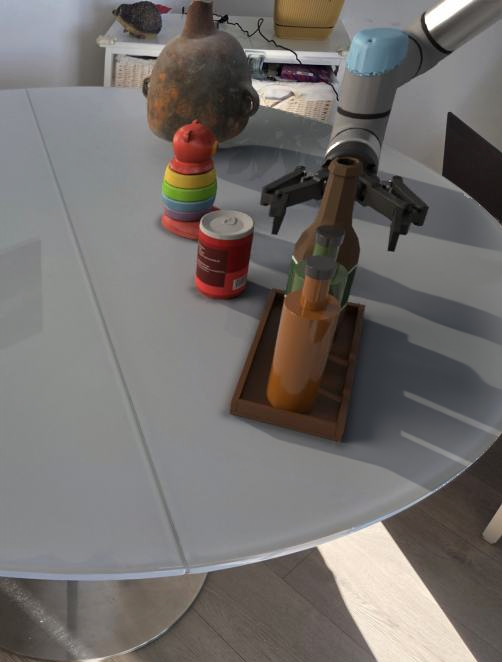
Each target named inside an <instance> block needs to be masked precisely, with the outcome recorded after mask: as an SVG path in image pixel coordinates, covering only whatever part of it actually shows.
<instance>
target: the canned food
mask: <svg viewBox="0 0 502 662" xmlns="http://www.w3.org/2000/svg"><path fill="white" fill-rule="evenodd" d="M254 233H255V221H254V219H253V217H251V216H250V215H248V214H247V213H245V212H242V211H239V210H233V209H221V210H219V211H214V212H210V213H208V214H206V215H205V216H203V217H202V219H201V221H200V228H199V238H198V240H197V253H196V265H195V266H196V267H195V277H194V283H195V286H196V289H197V290H198V292H199V293H201V294H202V295H204V296H206V297H207V298H211V299H215V300H228V299H232V298H235V297H237V296H239V295H240V294H241V293H242V292H243V291H244V290H245V288H246V285H247V280H248V274H249V267H250V262H251V261H250V260H251V254H252V248H253V240H254V235H255V234H254Z"/></svg>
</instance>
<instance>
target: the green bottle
mask: <svg viewBox="0 0 502 662" xmlns="http://www.w3.org/2000/svg"><path fill="white" fill-rule="evenodd" d="M344 235H345V231H344V230H343V229H342V228H340V227H338V226H334V225H321V226H319V227H317V228H316V231H315V236H314V241H315V245H314V250H313V254H312V256H317V255H321V256H327V257H330V258H332V259H334V260H335V261H336V259H337V255H338V251H339V247H340V245H341V244H342V243H343V239H344ZM306 260H307V259H305V260H302V261H300V262H298V263H297V264H296V266H295V269H294V274H293V279H292V284H291V289H290V293H291V292H293V291H296V290H301V289H302V288H303V283H304V279H305V272H304V269H305V264H306ZM347 278H348V271H347V270H346V268H345V267H344V266H342V265H341V264H339V263H337V268H336V272H335V276H334V277H333V278H332V280H331V284H330V288H329V292H328V294H330V295H332V296H333V297H335V298H336V299H337V300H338V301H339V303H340V305H341V301H342V297H343V293H344V289H345V286H346V282H347Z"/></svg>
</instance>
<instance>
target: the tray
mask: <svg viewBox="0 0 502 662" xmlns="http://www.w3.org/2000/svg"><path fill="white" fill-rule="evenodd" d="M285 291H286V289H285V290H284V289H279V288H278V289H277V288H273V287H272V288H271V289H270V291H269V295H268V298H267V300H266V303H265V306H264V308H263V311H262V314H261V318H260V320H259V322H258V325H257V328H256V331H255V334H254V336H253V339H252V341H251V342H252V343H251V344H250V348H249V349H248V353H247V356H246V359H245V361H244V363H243V367H242V370H241V372H240V375H239V377H238V381H237V383H236V386H235V388H234V391H233V394H232V398H231V400H230V405H229V411H228V412H229V414H230V415H234V416H238V417H241V418H245V419H249V420H254V421H258V422H260V423H264V424H268V425H273V426H277V427H280V428H285V429H288V430H292V431H296V432H300V433H302V434H303V433H304V434H308V435H312V436H316V437H318V438H323V439H326V440H329V441H334V442H338V443H341V442H342V439H343V436H344V433H345V429H346V425H347V424H346V423H347V418H348V411H349V406H350V400H351V393H352V388H353V381H354V375H355V369H356V364H357V357H358V352H359V351H358V350H359V345H360V339H361V334H362V328H363V320H364V316H365V309H366V304H363V303H358V302H352V301H348V302H347V305H346V309H345V313H344V317H343V320H342V323H341V326H340V328H339V330H338V331H337V332H336V333H335V334H334V338H333V341H332V345H331V349H330V353H329V356H328V360H327V364H326V368H325V372H324V375H323V379H322V383H321V387H320V390H319V394H318V398H317V402H316V405H315V407H314V408H313V409H312V410H311V411H309V412H307V413H303V414H298V413H294V412H290V411H286V410H282V409H278V408H274V407H273V406H272V405H271V404H270V403H269V402H268V400H267V397H266V391H267V386H268V381H269V376H270V370H271V365H272V360H273V355H274V350H275V345H276V339H277V334H278V329H279V324H280V319H281V313H282V307H283V302H284V297H285Z"/></svg>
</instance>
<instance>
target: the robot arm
mask: <svg viewBox="0 0 502 662" xmlns="http://www.w3.org/2000/svg"><path fill="white" fill-rule="evenodd" d="M501 20H502V0H438V1H437V2H435V3H434V4H432V5H431V6H430V7H428V8H427V9H426V10H425V11H424V12H422V13H421V14H419V15H418V16H417V17H415V18H414V19H413V20H412V21H410V22H409V23H408V24H406V25H405V26H404V27H402V28H400V29H399V28H395V27H394V28H393V27H371V28H366V29H361V30H359V31H358V32H357V33H356V34H355V35H354V36H353V38H352V40H351V43H350V47H349V50H348V54H347V55H346V57H345V67H344V73H343V78H342V82H341V83H342V84H341V87H340V93H339V99H338V103H337V108H336V111H335V116H334V121H333V125H332V130H331V134H330V139H329V142H328V146H327V148H326V151H325V154H324V157H323V160H322V163H321V166H320V169H318V170H316V172H310V171H308V170H306V169H307V167H306V166H305V165H297V166H296V167H295V168H294V170H293V171H291V172H288V173H287V174H285V175H284V176H281V177H279V178H278V179H275V180H273V181H272V182H270V183H267V184H265V185H264V186H262V188H261V194H260V200H259V205H260V206H261V207H268V206H269V209H268V217H269V218H273V221H272V228H271V233H270V234H271V235H274V236H278V234H279V232H280V229H281V226H282V224H283V221H284V219H285V216H286V213H287V208H290V207H293V206H296V205H300V204H302V203H306V202H309V201H313V200H314V201H317V202H318V201H322V198H323V195H324V191H325V188H326V184H327V181H328V177H329V174H330V170H329V169H328V167H329V165H330V163H331V161H333V160H334V159H335V158H338V157H352V158H356V159H359V160H360V161H361V162H362V163H363V170H364V171H363V172H362V173H361V174H360V175H359V180H358V186H357V192H356V198H355V203H357V204H359V205H360V206H362V207H364V208H365V207H370V208H371V209H373V210H375V212H377V213H379V214H381V215H382V216H383V217H385V218H387V219H388V220H390V221H391V224H390V227H389V235H388V241H387V242H388V243H387V250H386V251H387V252H391V253H395V252H396V251H395V250H396V248H397V245H398V241H399V238H400V235H401V236H407V235H408V234H409V231H410V227H411V224H412V225H413V226H416V227H423V226H424V225H425V221H426V218H427V215H428V212H429V209H430V206H429V205H428V204H427V203H426V202H425V201H423V200H422V198H420V197H419V196H418V195H417V194H416V193H415V192H414V191H412V190H411V188H410V187H408V186H407V185H406V184H405V183H404V179H403V177H402V176H401V175H393V176H392V177H391V179H389V180H381V178H380V176H379V175H378V172H379V166H380V161H381V153H382V148H383V143H384V139H385V135H386V131H387V127H388V124H389V120H390V116H391V112H392V109H393V105H394V101H395V98H396V93H397V90H398V89H399V88H400V87H402V86H404V85H406V84H407V83H409V82H411V81H412V80H413V79H415V78H418V77H419V76H421V75H424V74H425V73H427V72H429V71H430V70H431V69H433V68H434V67H436V66H437V65H438V63H440V62H441V61H443V60H445V59H446V58H447V57H449V56H450V55H452V53H454V52H456V51H457V50H459V49H460V48H461V47H463V46H465V45H466V44H467V43H468V42H470V41H471V40H473V39H474V38H476V37H478V36H479V35H481V34H482V33H483V32H485V31H486V30H487V29H489V28H491V27H492V26H494V25H495V24H496V23H499V22H500V21H501Z"/></svg>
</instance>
